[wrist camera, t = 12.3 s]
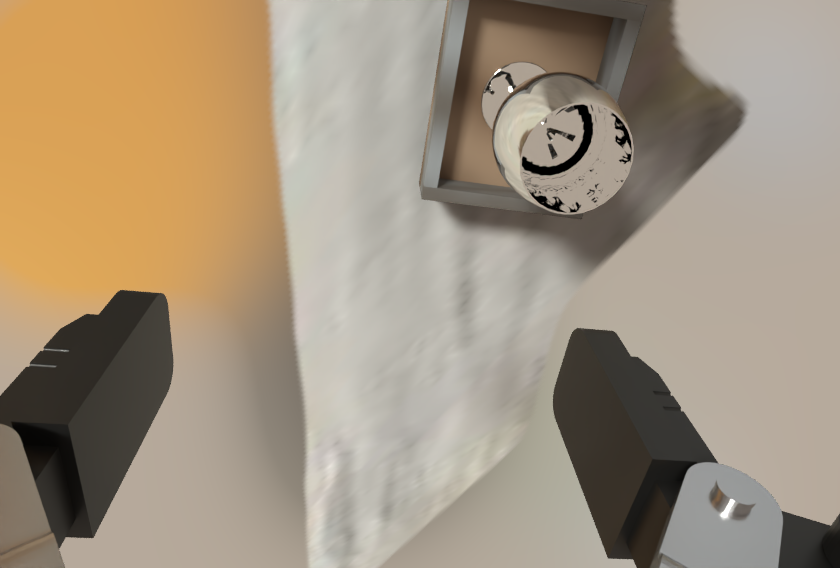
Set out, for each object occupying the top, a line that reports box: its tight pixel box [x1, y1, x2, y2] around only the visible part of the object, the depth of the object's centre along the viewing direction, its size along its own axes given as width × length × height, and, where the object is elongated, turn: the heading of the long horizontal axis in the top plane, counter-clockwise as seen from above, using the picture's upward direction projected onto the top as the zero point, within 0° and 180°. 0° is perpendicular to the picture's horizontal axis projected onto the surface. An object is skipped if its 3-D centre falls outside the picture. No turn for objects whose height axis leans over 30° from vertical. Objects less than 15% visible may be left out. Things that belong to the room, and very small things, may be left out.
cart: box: [419, 0, 647, 219], centre depth 34 cm, size 12×10×5 cm
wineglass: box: [481, 61, 634, 214], centre depth 28 cm, size 6×6×12 cm
